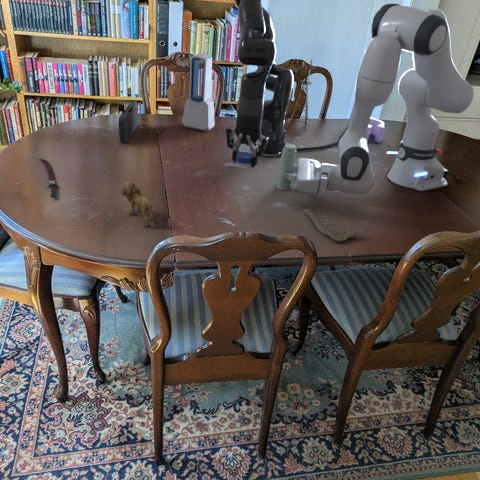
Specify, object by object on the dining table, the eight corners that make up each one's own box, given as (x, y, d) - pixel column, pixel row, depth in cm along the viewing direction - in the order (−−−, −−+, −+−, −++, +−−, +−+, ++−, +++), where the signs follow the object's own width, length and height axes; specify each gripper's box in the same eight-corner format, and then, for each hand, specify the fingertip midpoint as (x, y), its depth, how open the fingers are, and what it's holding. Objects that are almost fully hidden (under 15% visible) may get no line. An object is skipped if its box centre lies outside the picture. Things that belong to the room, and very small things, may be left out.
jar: (276, 183, 163) (283, 142, 155) (289, 185, 163) (297, 144, 155) (276, 189, 159) (283, 147, 151) (289, 191, 159) (297, 149, 151)
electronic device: (214, 128, 204) (219, 56, 188) (208, 133, 198) (212, 59, 182) (188, 122, 207) (190, 51, 191) (181, 127, 201) (183, 54, 185)
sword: (61, 197, 141) (61, 193, 140) (50, 198, 139) (50, 194, 139) (49, 160, 164) (48, 156, 163) (39, 160, 163) (39, 157, 162)
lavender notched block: (343, 126, 223) (346, 112, 219) (367, 127, 225) (371, 113, 221) (360, 142, 206) (364, 127, 202) (386, 142, 209) (390, 127, 205)
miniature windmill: (306, 131, 212) (318, 62, 195) (287, 128, 213) (298, 59, 196) (307, 125, 219) (319, 58, 203) (289, 122, 220) (300, 55, 204)
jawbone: (347, 249, 132) (348, 244, 131) (288, 222, 142) (289, 217, 141) (362, 236, 138) (364, 230, 136) (304, 210, 148) (305, 205, 147)
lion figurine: (118, 210, 138) (116, 182, 133) (132, 204, 141) (131, 177, 137) (151, 229, 130) (150, 201, 126) (165, 223, 134) (165, 195, 129)
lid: (243, 165, 142) (244, 159, 141) (232, 158, 145) (232, 153, 144) (256, 162, 145) (257, 156, 144) (245, 155, 149) (245, 150, 148)
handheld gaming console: (132, 123, 199) (131, 100, 194) (138, 124, 200) (137, 100, 194) (118, 143, 180) (117, 117, 175) (125, 143, 180) (124, 118, 175)
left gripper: (222, 108, 136) (218, 162, 146) (267, 119, 132) (259, 174, 141) (234, 102, 142) (229, 154, 151) (277, 113, 138) (269, 166, 147)
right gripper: (325, 156, 164) (286, 150, 165) (326, 180, 147) (283, 174, 148) (321, 172, 168) (283, 167, 168) (322, 198, 150) (280, 192, 151)
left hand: (244, 164), depth 146 cm, fingers closed on lid, 5 cm apart
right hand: (283, 170), depth 158 cm, fingers closed on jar, 5 cm apart
